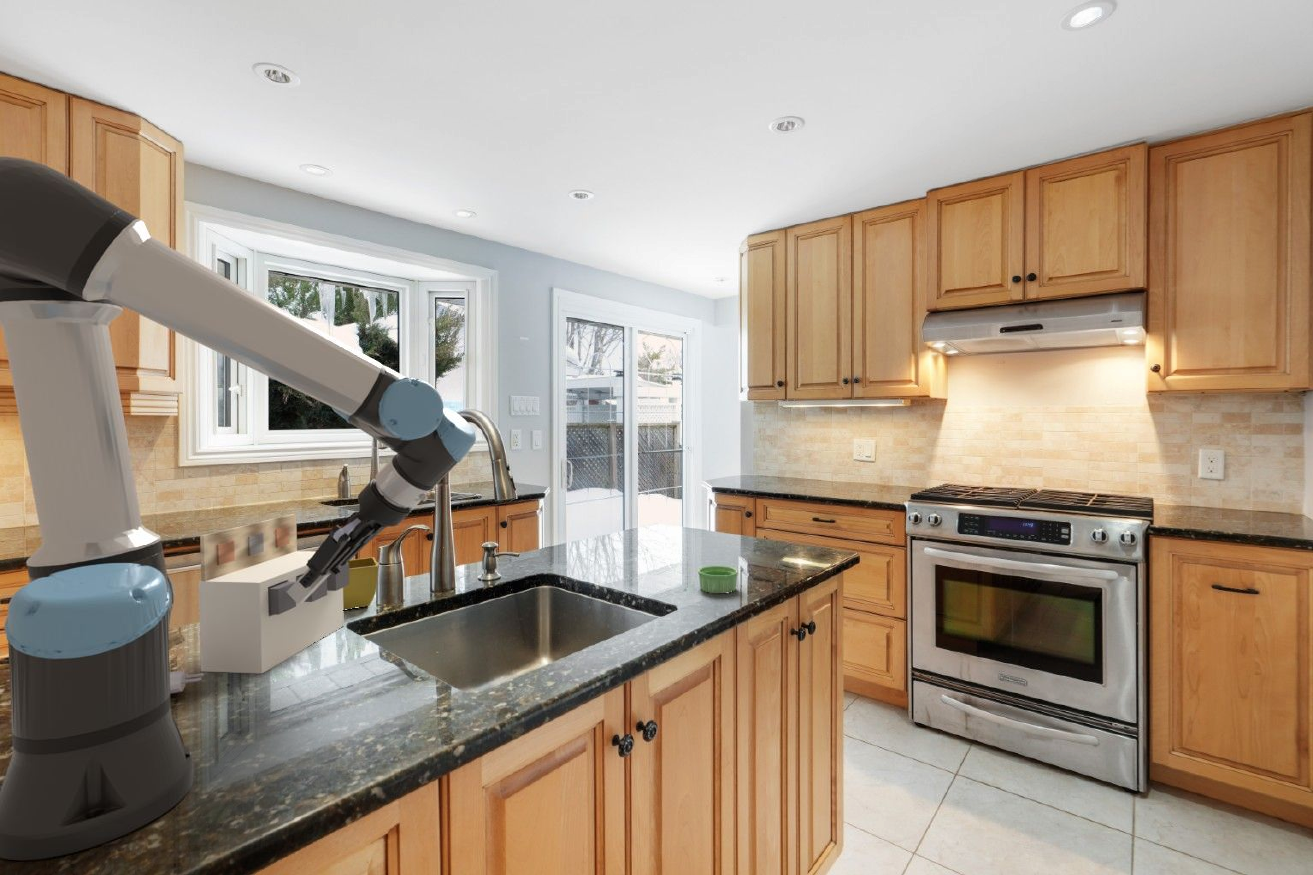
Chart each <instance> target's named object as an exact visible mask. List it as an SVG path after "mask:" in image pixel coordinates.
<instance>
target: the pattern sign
mask: <svg viewBox="0 0 1313 875" xmlns="http://www.w3.org/2000/svg"><path fill="white" fill-rule="evenodd" d="M297 529H298V528H297V514H296V513H291V514H286V515H284V516H283V515H282V516H279V517H275V518H270V519H267V520H262V521H257V522H253V523H250V524H245V525H240V526H238V527H232V528H228V529H224V530H223V529H222V530H219V531H215V532H211V533H207V534H206V533H205V534H203V535H200V536H199V537H200V538H199V539H200V540H199V541H200V546H199V547H200V570H201V571H200V573H201V574H200V578H201V580H200V581H208V580H211V579H214V578H217V577H220V576H223V575H226V574H229V573H232V572H235V571H238V570H241V569H244V568H247V567H250V566H253V565H256V564H260V563H263V562H266V561H269V560H272V559H275V558H278V557H281V556H284V555H287V554H290V553H293V552H296V551H298V543H297V541H298V536H297V535H298V534H297V533H298V532H297V531H298V530H297Z"/></svg>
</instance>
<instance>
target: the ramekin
mask: <svg viewBox="0 0 1313 875" xmlns="http://www.w3.org/2000/svg"><path fill="white" fill-rule="evenodd" d="M697 572H698V573H697V574H698V576H699V587H700V590H701V589H702V590H703V591H702V590H701V591H702V592H704V591H706V592H705V593H707V592H710V593H709V594H711V593H726V592H731V591H733V590H735V591H736V589H737V579H738V578H737V577H738V573H739V571H738V569H736V568H735V567H732V566H726V565H707V566H703V567H701V568H698V570H697ZM733 592H734V591H733ZM731 593H732V592H731Z"/></svg>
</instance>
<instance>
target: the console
mask: <svg viewBox="0 0 1313 875" xmlns="http://www.w3.org/2000/svg"><path fill="white" fill-rule="evenodd" d="M316 551H317V550H315V551H306V550H305V551H301V550H297V551H296V552H293V553H290V554H287V555H284V556H281V557H278V558H275V559H272V560H269V561H266V562H263V563H260V564H256V565H253V566H250V567H247V568H244V569H241V570H238V571H235V572H232V573H229V574H226V575H223V576H220V577H217V578H214V579H211V580H208V581H201V580H198V583H197V584H198V613H199V648H200V650H199V651H200V672H209V673H211V672H214V673H237V674H261V675H262V674H264V673H266V672H268V671H270V670H271V669H272V668H275V667H276V666H278V665H280V664H281V663H284V661H285V662H286V660H288V659H290V658H292V657H293V656H296V655H297V654H299V653H300V652H302V651H304V650H305V649H307V648H309V647H311V646H312V645H314V644H315V643H314V642H316V643H317V641H318V642H319V641H321V640H322V638H323V637H324V638H326V637H328V636H330V635H331V634H333V633H335V632H336V630H337V631H338V630H340V629H341V627H342V626H343V625H344V626H345V623H344V621H345V620H344V617H345V616H344V613H345V612H344V611H343V588H341V589H339V590H337V591H327V595H326V596H324V597H322V598H320V599H318V600H315V601H313V602H302V603H300V604H297V603H296V607H294V608H292V609H290V610H288V611H285V612H283V613H281V614H279V615H278V614H269V609H268V587H270V586H273V585H275V584H278V583H281V582H296V576H299V575H302V574H304V573H305V572H306V571H307V570H308V569H309V567H308V566H307V565H306V564H307V563H308V560H310V559H311V557H312V556H313V555H314V554H315V552H316ZM339 628H340V629H339ZM342 628H343V627H342ZM334 631H335V632H334ZM332 632H333V633H332ZM330 633H331V634H330ZM329 634H330V635H329ZM325 636H326V637H325ZM324 638H323V639H324ZM320 639H321V640H320ZM313 643H314V644H313ZM311 644H312V645H311ZM310 645H311V646H310ZM308 646H309V647H308ZM303 649H304V650H303Z"/></svg>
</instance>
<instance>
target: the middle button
mask: <svg viewBox="0 0 1313 875" xmlns="http://www.w3.org/2000/svg"><path fill="white" fill-rule="evenodd" d="M302 575H303V574H302ZM302 575H299V576H296V581H297V580H298V579H299V578H300V577H301V576H302ZM326 595H327V578H326V579H325V580H324V581H323V582H322V583H321V584H320V586H319V587H318V588H317V589H316V590H315V591H314V592H313V593H312V594H311V595H310V596H309V597H308V598H307V599H306V600H305V601H304V602H313V601H315V600H318V599H320V598H322V597H324V596H326Z"/></svg>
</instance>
